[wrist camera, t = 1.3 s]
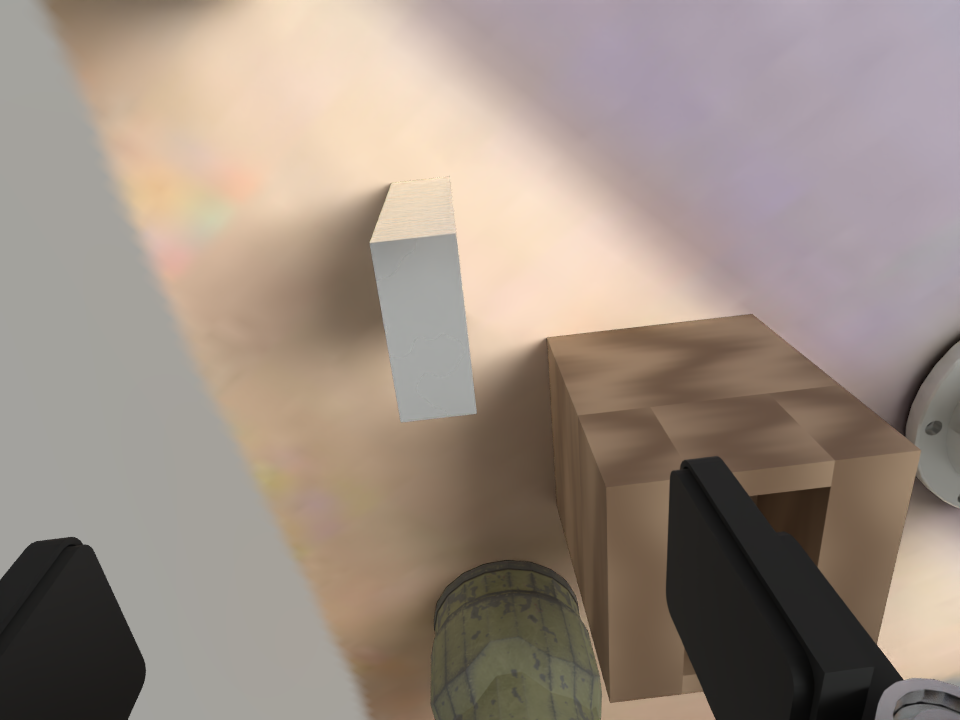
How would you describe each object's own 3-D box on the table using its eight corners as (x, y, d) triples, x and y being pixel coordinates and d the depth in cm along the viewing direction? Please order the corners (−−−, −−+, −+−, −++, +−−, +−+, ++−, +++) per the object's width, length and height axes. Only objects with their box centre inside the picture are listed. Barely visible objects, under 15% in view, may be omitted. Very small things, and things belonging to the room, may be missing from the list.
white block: (449, 176, 28) (455, 233, 18) (465, 307, 30) (476, 413, 21) (391, 182, 28) (369, 242, 18) (411, 313, 30) (400, 422, 21)
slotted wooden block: (752, 314, 31) (921, 450, 20) (737, 483, 35) (870, 670, 24) (547, 337, 31) (606, 487, 20) (556, 504, 35) (610, 703, 24)
